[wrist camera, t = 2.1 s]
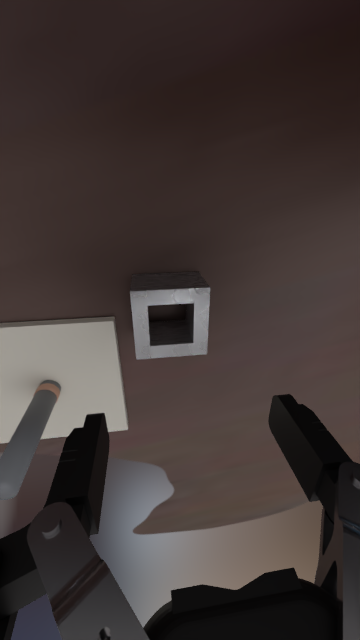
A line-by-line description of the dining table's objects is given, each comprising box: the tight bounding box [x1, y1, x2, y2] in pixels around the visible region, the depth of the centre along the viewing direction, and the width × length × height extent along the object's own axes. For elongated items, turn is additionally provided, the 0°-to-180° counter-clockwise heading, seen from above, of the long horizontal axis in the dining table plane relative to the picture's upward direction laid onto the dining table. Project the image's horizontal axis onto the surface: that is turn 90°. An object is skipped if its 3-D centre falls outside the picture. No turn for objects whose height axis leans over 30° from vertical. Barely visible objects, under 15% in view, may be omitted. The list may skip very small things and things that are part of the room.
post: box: [0, 316, 128, 500], centre depth 22 cm, size 14×14×11 cm
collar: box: [130, 272, 210, 360], centre depth 22 cm, size 6×6×4 cm
